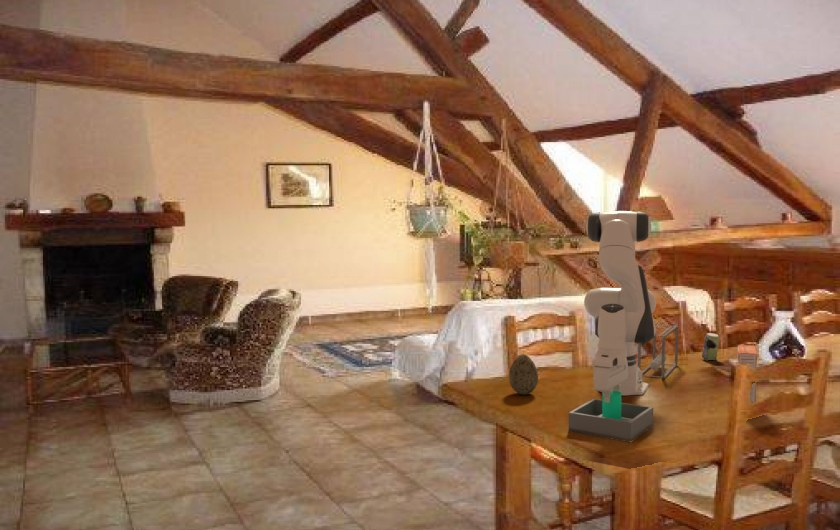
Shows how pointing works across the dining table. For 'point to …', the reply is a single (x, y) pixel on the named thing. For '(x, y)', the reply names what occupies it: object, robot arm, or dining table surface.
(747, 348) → the cracker box
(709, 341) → the beverage can
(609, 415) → the candle
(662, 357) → the newton's cradle
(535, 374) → the decorative egg
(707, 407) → the dining table surface
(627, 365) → the robot arm
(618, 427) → the walled box
